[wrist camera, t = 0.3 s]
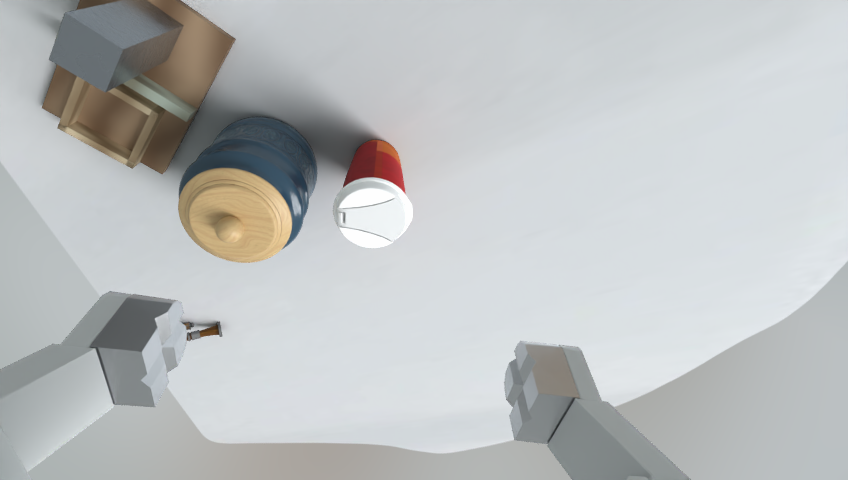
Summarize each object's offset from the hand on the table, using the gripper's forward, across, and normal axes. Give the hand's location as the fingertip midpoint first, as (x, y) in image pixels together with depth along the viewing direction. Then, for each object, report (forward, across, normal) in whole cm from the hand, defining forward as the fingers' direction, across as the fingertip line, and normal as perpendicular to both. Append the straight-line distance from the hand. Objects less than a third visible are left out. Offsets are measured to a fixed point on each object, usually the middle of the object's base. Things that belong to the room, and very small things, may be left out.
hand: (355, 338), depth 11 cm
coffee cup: (+47, 0, +17) cm, 50 cm away
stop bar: (+46, +26, +6) cm, 53 cm away
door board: (+46, +29, +11) cm, 56 cm away
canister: (+47, +14, +20) cm, 53 cm away
